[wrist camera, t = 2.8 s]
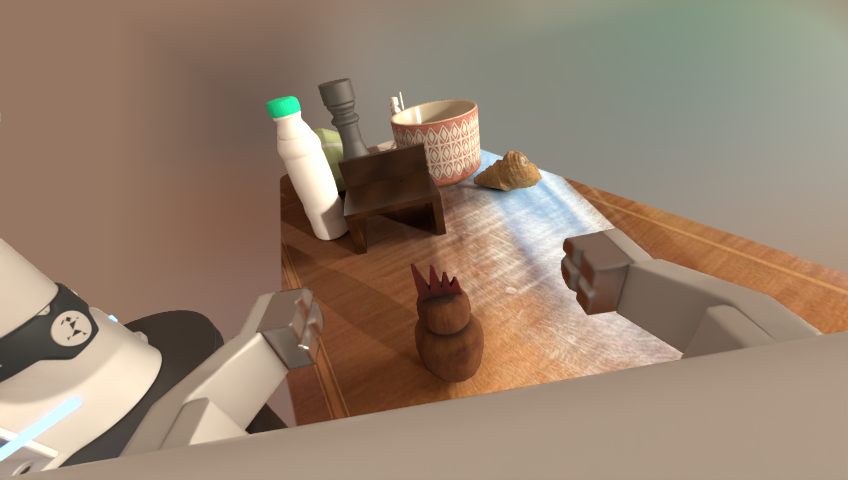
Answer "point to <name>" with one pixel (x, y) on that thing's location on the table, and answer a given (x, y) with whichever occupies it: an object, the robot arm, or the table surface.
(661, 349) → the table surface
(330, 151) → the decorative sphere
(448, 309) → the wooden figurine
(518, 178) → the seashell
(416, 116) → the planter
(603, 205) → the table surface
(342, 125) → the candle holder
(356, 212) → the miniature wooden bench
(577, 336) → the table surface
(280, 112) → the water bottle
